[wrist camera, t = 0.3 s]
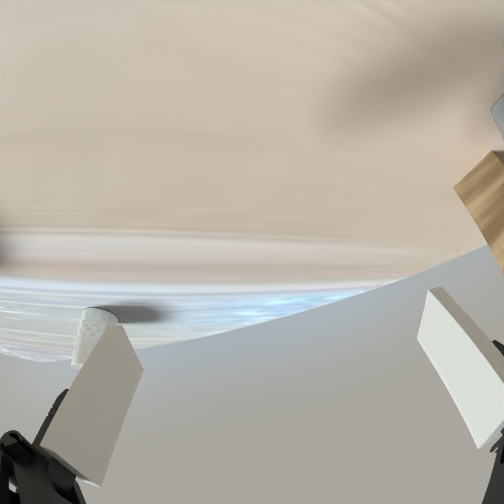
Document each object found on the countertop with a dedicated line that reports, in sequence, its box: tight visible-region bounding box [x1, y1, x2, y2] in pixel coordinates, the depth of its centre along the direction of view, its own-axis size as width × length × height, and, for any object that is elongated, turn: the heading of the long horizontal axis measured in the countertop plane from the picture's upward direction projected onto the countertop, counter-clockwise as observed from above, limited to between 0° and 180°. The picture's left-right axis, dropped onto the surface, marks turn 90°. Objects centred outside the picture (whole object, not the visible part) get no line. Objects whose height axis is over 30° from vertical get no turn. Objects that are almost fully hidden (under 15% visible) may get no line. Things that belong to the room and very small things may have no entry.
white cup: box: [71, 308, 118, 371], centre depth 39 cm, size 8×8×10 cm
